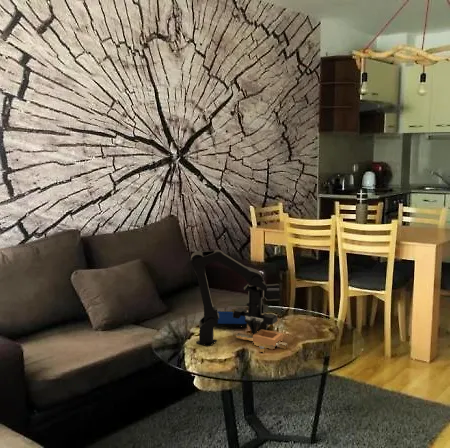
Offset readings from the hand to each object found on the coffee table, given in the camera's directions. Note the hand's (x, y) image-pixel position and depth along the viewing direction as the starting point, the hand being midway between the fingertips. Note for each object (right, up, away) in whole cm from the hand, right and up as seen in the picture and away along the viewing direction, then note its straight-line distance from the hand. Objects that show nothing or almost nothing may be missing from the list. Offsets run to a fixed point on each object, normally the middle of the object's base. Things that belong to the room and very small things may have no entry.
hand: (254, 335), depth 238 cm
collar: (+5, -3, -3) cm, 7 cm away
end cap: (+3, -1, +13) cm, 14 cm away
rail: (+3, -3, -1) cm, 4 cm away
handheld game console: (-10, 0, +20) cm, 22 cm away
